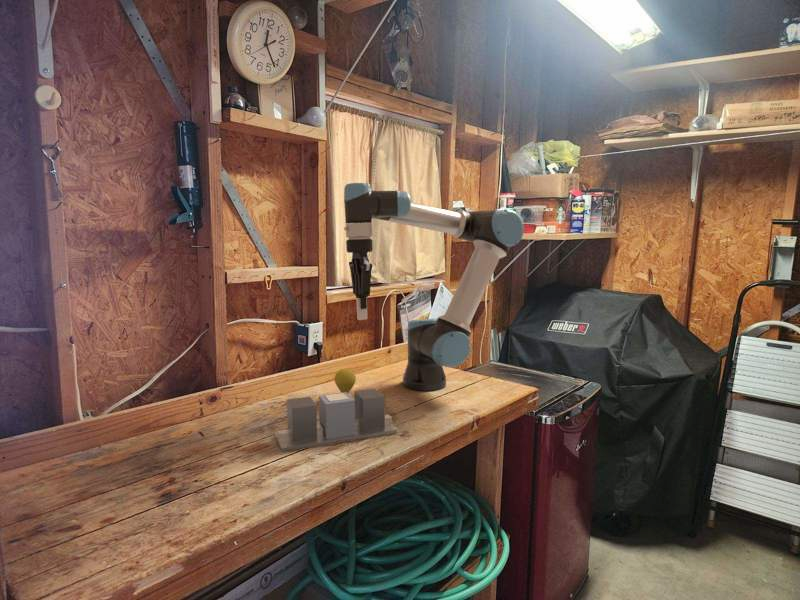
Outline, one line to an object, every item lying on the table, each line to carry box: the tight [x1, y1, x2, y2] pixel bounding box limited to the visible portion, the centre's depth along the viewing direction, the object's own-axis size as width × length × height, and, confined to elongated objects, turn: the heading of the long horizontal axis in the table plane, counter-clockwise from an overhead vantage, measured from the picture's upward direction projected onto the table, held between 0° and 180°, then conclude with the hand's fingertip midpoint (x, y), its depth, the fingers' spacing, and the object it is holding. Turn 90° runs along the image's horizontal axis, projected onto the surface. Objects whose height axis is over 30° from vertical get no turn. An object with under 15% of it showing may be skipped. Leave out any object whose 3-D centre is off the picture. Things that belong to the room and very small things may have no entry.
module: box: [318, 392, 355, 439], centre depth 129 cm, size 8×7×9 cm
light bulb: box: [334, 368, 357, 396], centre depth 156 cm, size 7×7×10 cm
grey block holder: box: [274, 388, 398, 453], centre depth 129 cm, size 30×10×10 cm, turn 113°
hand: (362, 319), depth 146 cm, fingers closed
